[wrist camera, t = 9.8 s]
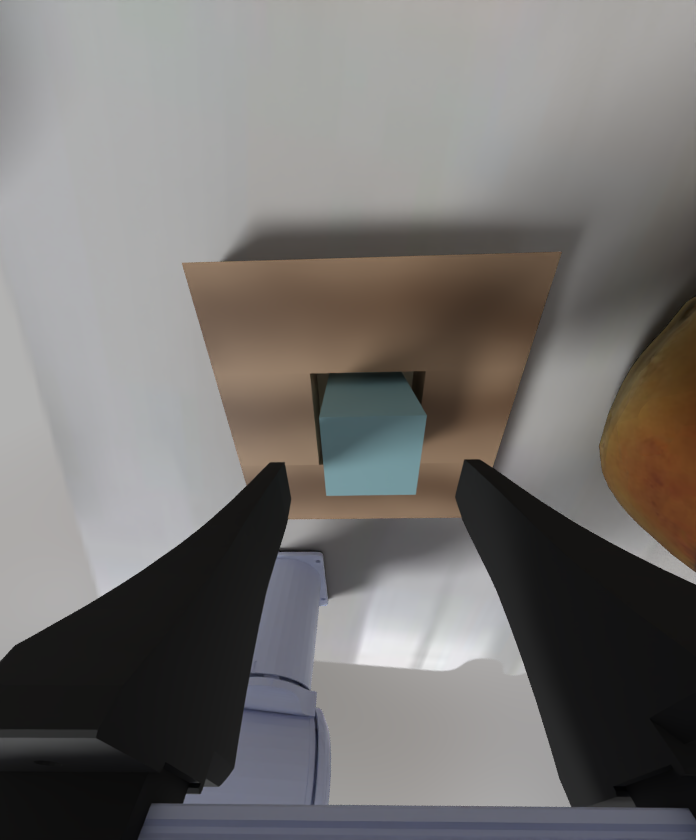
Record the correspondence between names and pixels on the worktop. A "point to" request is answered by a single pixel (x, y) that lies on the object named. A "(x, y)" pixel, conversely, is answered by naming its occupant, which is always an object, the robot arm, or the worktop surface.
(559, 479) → the worktop surface
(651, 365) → the ceramic pitcher
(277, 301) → the socket block
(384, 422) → the peg
